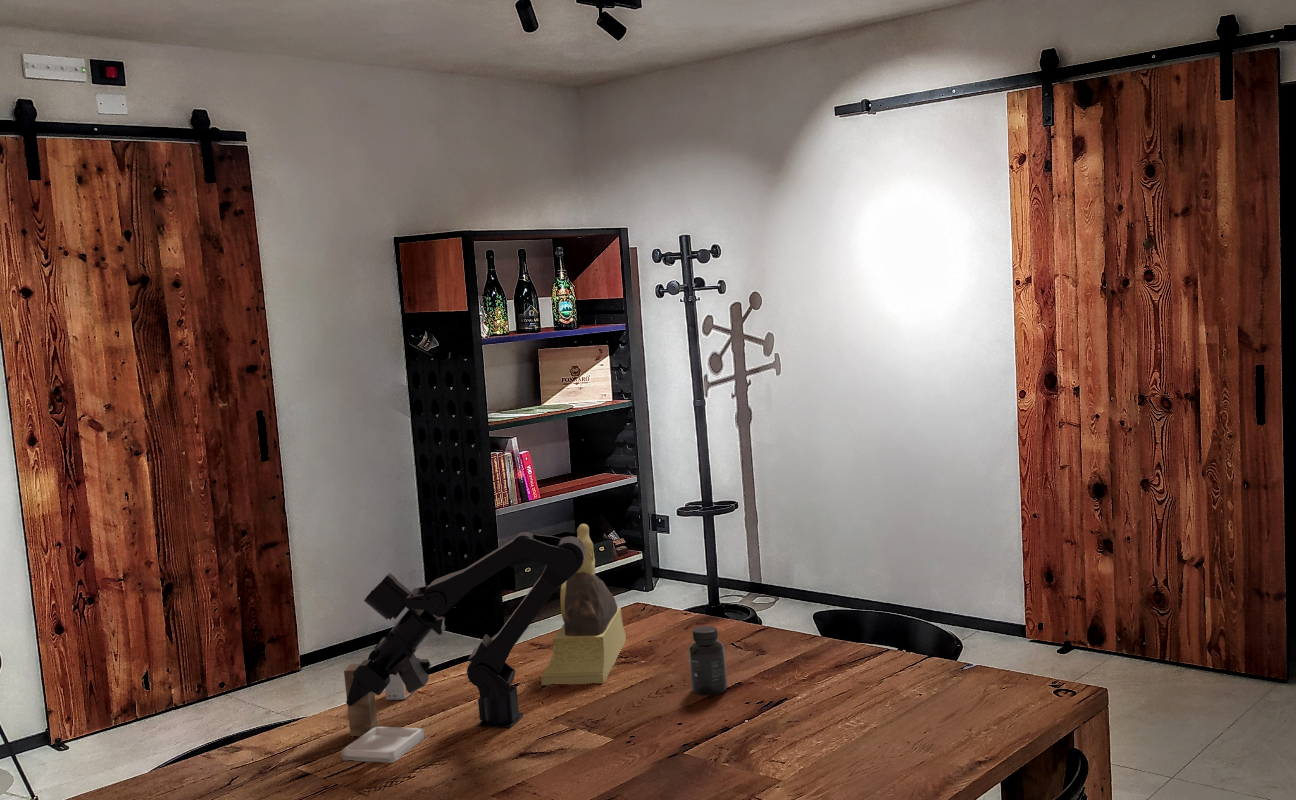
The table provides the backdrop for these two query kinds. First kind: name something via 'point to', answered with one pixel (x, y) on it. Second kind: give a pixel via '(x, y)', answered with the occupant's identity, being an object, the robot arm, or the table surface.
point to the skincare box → (396, 688)
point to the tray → (383, 744)
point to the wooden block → (360, 707)
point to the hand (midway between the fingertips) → (353, 698)
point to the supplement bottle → (707, 662)
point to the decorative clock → (585, 627)
